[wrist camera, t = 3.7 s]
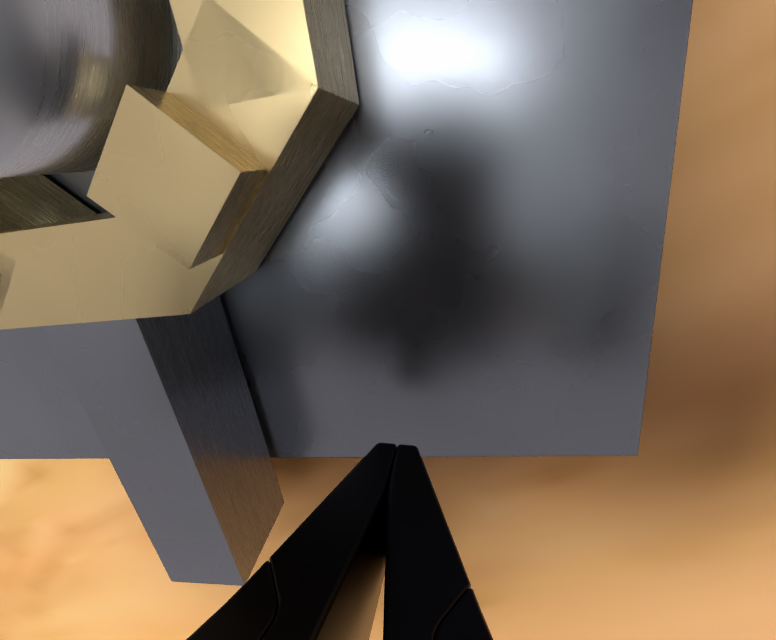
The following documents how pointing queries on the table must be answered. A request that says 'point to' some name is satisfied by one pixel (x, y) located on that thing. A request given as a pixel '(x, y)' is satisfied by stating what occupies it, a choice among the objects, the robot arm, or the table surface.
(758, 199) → the table surface
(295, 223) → the cap plate
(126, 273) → the ring nut
